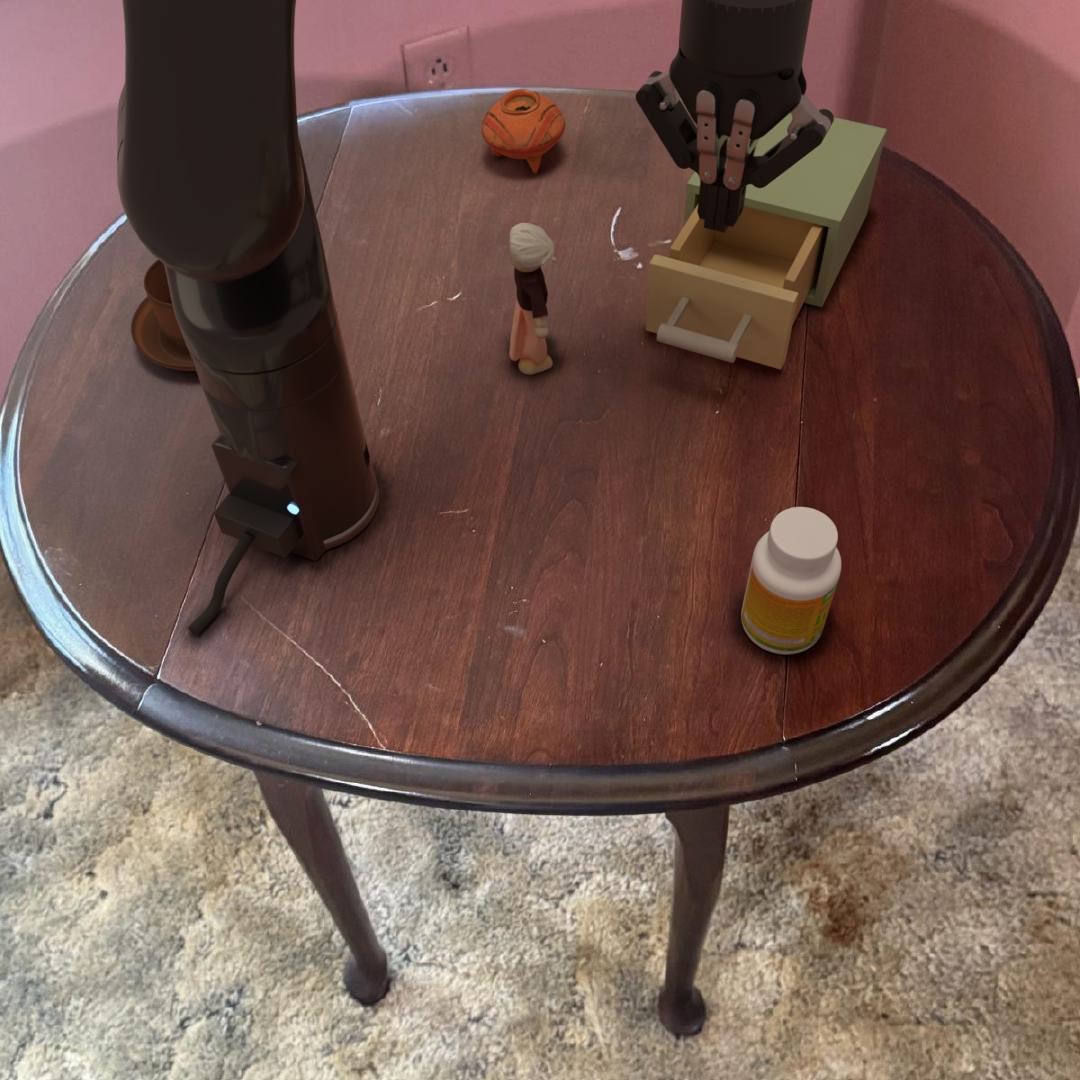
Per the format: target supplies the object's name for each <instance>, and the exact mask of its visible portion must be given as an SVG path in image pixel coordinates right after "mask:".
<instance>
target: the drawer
mask: <svg viewBox="0 0 1080 1080" xmlns="http://www.w3.org/2000/svg"><path fill="white" fill-rule="evenodd" d="M697 209H698V205H697V206H696V208H695V210H694V211H693V213H692V214H691V216H690V217H689V219H688V221H687V222H686V224H685V225H684V224H683V227H682V228H681V230H680V232H679V233H678V235H677V236H676V238H675V240H674V241H673V243H672V245H670V248H669V254H668V256H664V255H660V254H656V253H655V254H654V255H653V257H652V258H651V260H650V262H649V264H648V265H649V266H648V281H647V282H648V283H647V301H646V318H645V331H647V332H650V333H654V334H656V341H657V342H658V343H662V344H666V345H670V346H673V347H675V348H680V349H682V350H686V351H689V352H692V353H696V354H699V355H704V356H707V357H709V358H713V359H717V360H720V361H723V362H727V363H730V364H733V363H734V362H735V361H736V359H737V358H740V359H743V360H746V361H750V362H753V363H757V364H759V365H763V366H767V367H769V368H770V367H771V368H774V369H777V370H782V368H783V366H784V365H785V362H786V361H787V354H788V349H789V344H790V339H791V334H792V329H793V325H794V323H795V321H796V319H797V317H798V315H799V313H800V311H801V309H802V307H803V305H804V304H805V303H804V301H805V299H806V297H807V295H808V293H809V291H810V289H811V287H812V285H813V283H814V281H815V279H816V277H817V275H818V273H819V271H820V268H821V263H822V258H823V253H824V249H825V244H826V239H827V234H828V229H829V227H826V226H822V225H818V224H814V223H810V222H806V221H802V220H798V219H794V218H790V217H786V216H782V215H778V214H774V213H770V212H766V211H762V210H758V209H754V208H751V207H747V206H744V208H743V211H742V213H741V215H740V217H739V218H738V220H737V222H736V223H735V225H734V226H733V227H730V226H729V227H728V228H727V230H726V232H725V233H722V232H718V231H715V230H710V229H706V228H704V220H703V219H699V216H698V213H697Z"/></svg>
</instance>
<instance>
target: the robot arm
mask: <svg viewBox="0 0 1080 1080" xmlns="http://www.w3.org/2000/svg"><path fill="white" fill-rule="evenodd" d="M121 1H122V10H123V11H122V12H123V23H124V24H123V25H124V48H125V57H124V58H125V59H124V64H125V65H124V66H125V67H124V83H123V87H122V89H121V90H120V91H121V92H120V95H119V99H118V103H117V104H118V105H117V111H116V184H117V190H118V196H119V200H120V204H121V207H122V209H123V211H124V215H125V216H126V218H127V221H128V224H129V225H130V226H131V228H132V230H133V231H134V233H135V234H136V236H137V238H138V240H139V241H140V242H141V243H142V244H143V246H144V247H145V248H146V249H147V250H148V252H149V253H150V254H152V256H154V257H155V258H156V259H157V260H158V259H159V260H160V261H161V262H162V263H163V264H164V266H165V270H166V275H167V280H168V285H169V290H170V295H171V300H172V305H173V309H174V313H175V316H176V320H177V322H178V325H179V328H180V330H181V333H182V335H183V338H184V341H185V343H186V346H187V348H188V351H189V354H190V356H191V359H192V361H193V364H194V367H195V369H196V371H195V373H196V374H197V377H198V381H199V383H200V385H201V388H202V391H203V393H204V396H205V399H206V402H207V404H208V406H209V410H210V413H211V415H212V418H213V420H214V423H215V426H216V428H217V430H218V433H219V435H217V437H216V438H215V439H214V440H213V442H212V443H211V449H212V452H213V455H214V458H215V460H216V462H217V464H218V468H219V470H220V472H221V475H222V477H223V480H224V483H225V485H226V488H227V490H228V494H227V496H226V497H225V498H224V499H223V500H222V501H221V503H220V504H219V505H218V506H217V508H216V509H215V510H214V511H213V515H214V518H215V519H216V522H217V525H218V527H219V529H220V532H221V533H222V534H224V535H226V536H229V537H231V538H234V539H237V540H239V541H238V542H237V544H236V545H235V547H234V548H233V550H232V552H231V553H230V555H229V556H228V558H227V560H226V561H225V563H224V565H223V567H222V569H221V570H220V573H219V574H218V576H217V579H216V580H215V584H214V588H213V592H212V596H211V599H210V601H209V603H208V605H207V606H206V608H205V610H204V611H203V612H202V613H201V614H200V615H199V616H198V617H197V618H196V619H195V620H194V621H193V622H192V623H191V624H190V625H189V626H188V627H187V629H188V631H190V633H192V634H193V635H195V636H198V635H199V633H201V632H202V631H203V630H204V629H205V628H206V627H207V626H208V625H209V624H210V623H211V622H212V621H213V620H214V619H215V618H216V616H217V615H218V614H219V612H220V610H221V607H222V605H223V603H224V600H225V596H226V592H227V588H228V586H229V584H230V581H231V579H232V577H233V575H234V574H235V572H236V569H237V567H238V566H239V564H240V563H241V561H242V559H243V558H244V557H245V555H246V553H247V552H248V550H249V548H250V547H251V545H252V546H254V547H257V548H259V549H262V550H264V551H267V552H270V553H272V554H275V555H277V556H280V557H281V558H285V559H286V558H287V557H288V555H289V554H290V553H293V554H296V555H298V556H302V557H304V558H307V559H308V560H311V561H318V560H319V559H320V557H322V556H323V554H324V553H325V552H326V551H327V550H330V549H333V548H336V547H338V546H341V545H343V544H345V543H347V542H349V541H350V540H352V539H354V538H355V537H356V536H358V535H359V534H360V533H361V532H362V531H364V529H365V528H367V526H368V525H369V523H371V521H372V519H373V518H374V516H375V514H376V512H377V509H378V507H379V503H380V488H379V483H378V479H377V476H376V475H377V474H376V473H375V470H374V468H373V463H372V462H373V460H372V458H371V457H372V455H371V450H370V449H371V448H369V447H370V443H368V442H369V439H368V438H367V437H368V434H367V433H365V432H367V431H366V429H364V426H363V421H362V416H361V412H360V408H359V404H358V399H357V395H356V390H355V386H354V382H353V377H352V373H351V369H350V366H349V360H348V356H347V352H346V347H345V342H344V338H343V337H344V336H343V334H342V329H341V324H340V321H339V316H338V311H337V308H336V307H337V306H336V303H335V298H334V293H333V287H332V283H331V278H330V277H331V276H330V273H329V268H328V263H327V258H326V253H325V248H324V242H323V238H322V234H321V229H320V224H319V221H318V217H317V213H316V210H315V204H314V199H313V195H312V189H311V186H310V181H309V177H308V172H307V166H306V163H305V158H304V155H303V149H302V144H301V140H300V135H299V125H298V112H297V111H298V109H297V90H296V89H297V87H296V68H295V66H296V65H295V27H296V7H297V0H121ZM813 2H814V0H681V6H680V21H679V35H678V50H677V52H676V55H675V56H674V58H673V59H672V60H671V63H670V65H669V69H667V70H665V71H663V72H662V71H659V70H654V71H652V72H651V74H650V75H649V76H648V77H647V79H646V80H645V81H644V83H642V85H641V86H640V87H639V89H638V90H637V91H636V93H635V101H636V103H637V104H638V106H639V108H640V109H641V111H642V112H643V114H644V115H645V117H646V119H647V120H648V122H649V123H650V125H651V127H652V128H653V130H654V131H655V133H656V135H657V136H658V138H659V140H660V142H661V143H662V144H663V145H664V148H665V149H666V151H667V153H668V154H669V156H670V157H671V159H672V160H673V162H674V164H675V165H676V166H677V167H678V168H679V169H682V170H687V169H690V170H692V171H693V172H696V173H697V174H698V175H699V177H700V190H699V200H698V209H697V213H698V216H699V219H703V220H704V228H706V229H710V230H715V231H718V232H722V233H725V232H726V230H727V228H728V227H729V226H730V227H733V226H734V225H735V223H736V222H737V220H738V218H739V217H740V215H741V213H742V211H743V208H744V201H745V194H746V187H747V185H749V184H752V185H753V186H755V187H756V188H764V187H765V186H767V185H768V184H769V183H771V182H772V181H773V180H775V179H776V178H777V177H779V176H780V175H781V174H782V173H784V172H785V171H786V170H788V169H789V168H790V167H792V166H793V165H794V164H796V163H797V162H798V161H799V160H801V159H802V158H803V157H805V156H806V155H807V154H809V153H810V152H811V151H813V150H814V149H815V148H817V147H818V146H819V145H820V144H821V143H822V141H823V139H824V138H825V136H826V134H827V133H828V131H829V129H830V127H831V125H832V123H833V121H834V117H835V116H834V114H833V112H832V111H831V110H829V109H826V108H821V109H818V108H817V107H816V105H814V104H813V103H812V101H810V99H809V98H808V97H807V95H805V94H806V92H807V86H808V83H807V79H806V77H805V74H804V73H805V72H804V70H803V62H804V61H803V60H804V55H805V50H806V49H805V48H806V43H807V37H808V31H809V26H810V19H811V13H812V8H813ZM789 113H791V114H792V121H791V123H790V124H789V126H788V128H787V133H788V135H787V136H786V137H785V138H783V139H782V140H781V141H780V142H778V143H777V144H776V145H775V146H773V147H772V148H771V149H770V150H768V151H767V152H766V153H765V154H764V155H763V156H755V152H756V147H757V143H758V141H759V138H762V137H763V136H765V135H766V134H767V133H768V132H769V131H770V130H771V129H773V128H774V127H775V126H776V125H777V124H778V123H779V122H780V121H782V120H783V119H784V118H785V117H786V116H787V115H788V114H789ZM729 137H730V141H729ZM725 166H726V168H725Z"/></svg>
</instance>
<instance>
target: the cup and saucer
mask: <svg viewBox="0 0 1080 1080" xmlns="http://www.w3.org/2000/svg"><path fill="white" fill-rule="evenodd" d="M143 288H144V290H145V293H146V295H147V296H146V297H145V298H144V299H143V300H142V301H141V303H140V304H139V305H138V307H137V308H136V310H135V311H134V313H133V316H132V318H131V323H130V334H131V338H132V341H133V343H134V345H135V347H136V348H137V349H138V351H139V352H140V353H141V354H142V355H143V356H144V357H145V358H146V359H148V360H149V361H150V362H153V363H154V364H156V365H158V366H161V367H164V368H167V369H171V370H177V371H183V372H185V371H186V372H196V369H195V367H194V364H193V361H192V359H191V356H190V354H189V351H188V348H187V346H186V343H185V341H184V338H183V335H182V333H181V330H180V328H179V325H178V322H177V320H176V316H175V313H174V309H173V305H172V300H171V295H170V290H169V285H168V280H167V275H166V270H165V266H164V264H163V263H162V262H161V261H160V260H159V259H157V260H155V261H154V262H153V263H152V264H151V265H150V267H149V268H148V269H147V270H146V272H145V274H144V277H143Z"/></svg>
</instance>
